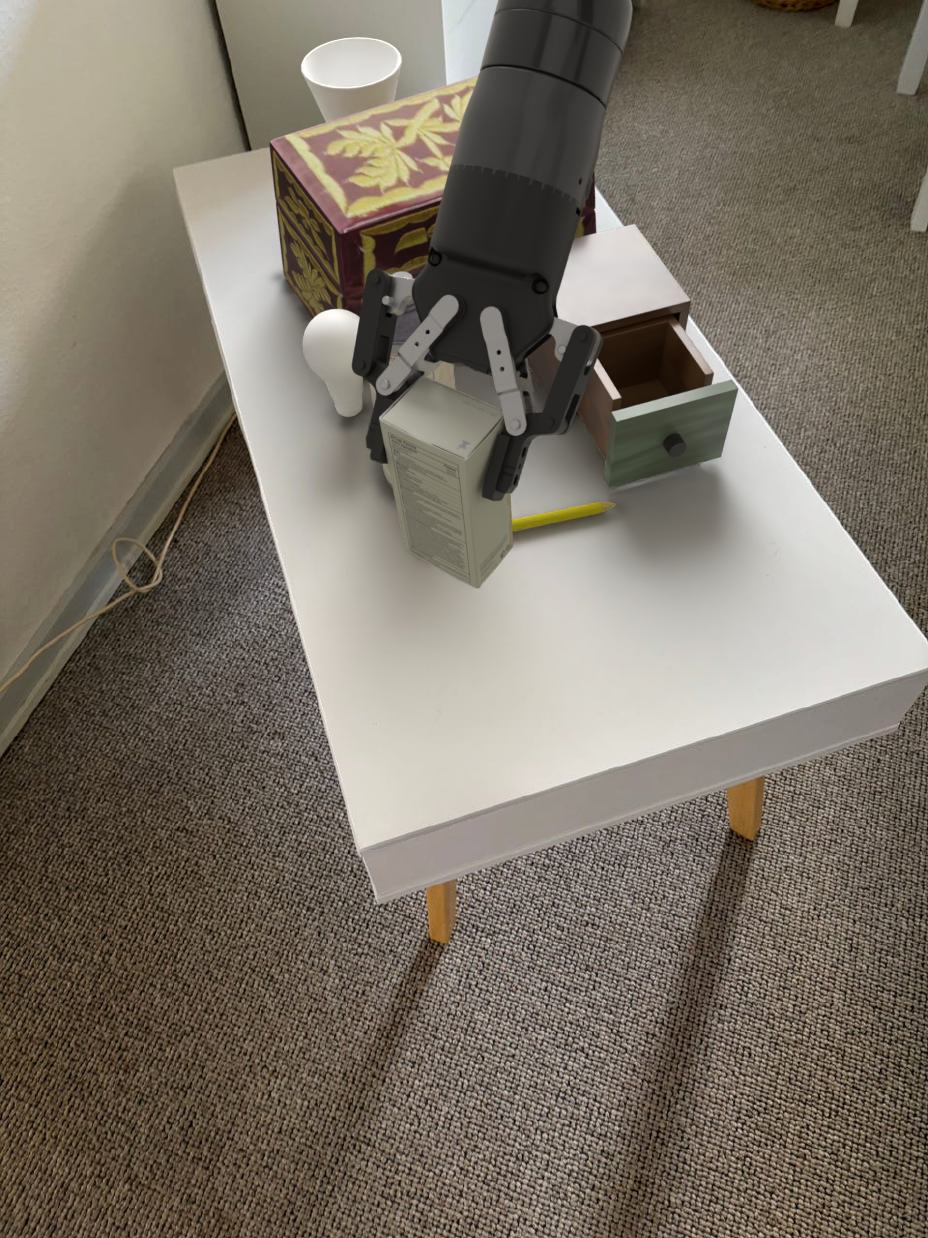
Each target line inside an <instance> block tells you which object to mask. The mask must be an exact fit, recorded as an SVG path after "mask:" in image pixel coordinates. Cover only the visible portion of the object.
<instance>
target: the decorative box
mask: <svg viewBox="0 0 928 1238" xmlns="http://www.w3.org/2000/svg"><path fill="white" fill-rule="evenodd" d="M477 78H478V75H475V76H472V77H469V78H466V79H461V80H459V81H456V82H452V83H449V84H446V85H442V86H440V87H436V88H433V89H429V90H427V91H423V92H420V93H417V94H414V95H411V96H407V97H404V98H401V99H398V100H394V102H391V103H388V104H384V105H381V106H378V107H375V108H371V109H368V110H365V111H362V112H358V113H355V114H352V115H349V116H346V117H342V118H339V119H336V120H333V121H329V122H326V121H325V122H324V123H320V124H316V125H314V126H310V127H307V128H304V129H301V130H298V131H294V132H291V133H287V134H285V135H282V136H278V137H276V138H273V139H270V140H269V145H268V146H269V153H270V163H271V173H272V182H273V191H274V192H273V193H274V198H275V209H276V218H277V228H278V229H277V230H278V237H279V247H280V255H281V263H282V272H283V276H284V278H285V279H286V281H287V282H288V283H289V285H290V288H292V290H293V292H295V294H296V295H297V298H298V299H299V300H300V302H301V303H302V305H303V306H304V308H305V309H306V311H307V312H308V314H309V315H310V316H311V318H312V319H313V318H314V317H315V316H317V315H318V314H320V313H321V312H324V311H327V310H331V309H343V310H347V311H350V312H352V313H354V314H356V315H357V316H358V317H360V313H361V307H362V301H363V295H364V289H365V284H366V278H367V275H368V273H369V272H370V271H371V270H372V269H380V270H383V271H385V272H387V273H389V274H391V275H392V274H394V273H396V272H407V273H410V274H411V275H412V278H413V279H416V277H417V276H418V275H419V274H420V273H421V271H422V270H423V269H424V267H425V265H426V263H427V260H428V256H429V248H430V242H431V238H432V234H433V230H434V226H435V223H436V219H437V215H438V211H439V207H440V203H441V200H442V196H443V192H444V188H445V184H446V180H447V176H448V172H449V168H450V165H451V161H452V157H453V153H454V149H455V145H456V141H457V138H458V134H459V130H460V126H461V122H462V119H463V116H464V113H465V110H466V107H467V105H468V102H469V100H470V97H471V95H472V92H473V90H474V87H475V85H476V82H477ZM595 178H596V172H595V171H594V173H593V176H592V179H593V182H592V186H591V190H590V193H589V196H588V199H586V201H585V203H584V207H583V210H582V214H581V217H580V221H579V224H578V227H577V230H576V234H575V237H574V238H578V237H582V236H587V235H591V234H595V233H597V215H596V214H597V213H596V179H595Z"/></svg>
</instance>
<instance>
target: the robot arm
mask: <svg viewBox="0 0 928 1238" xmlns="http://www.w3.org/2000/svg"><path fill="white" fill-rule="evenodd" d="M632 22H633V3H632V0H497V2H496V7H495V11H494V15H493V18H492V22H491V26H490V29H489V33H488V37H487V40H486V44H485V49H484V53H483V56H482V60H481V63H480V67H479V73H478V75H477V76H478V78H477V82H476V85H475V87H474V90H473V92H472V95H471V97H470V100H469V102H468V105H467V107H466V110H465V113H464V116H463V119H462V122H461V126H460V130H459V134H458V138H457V141H456V145H455V149H454V153H453V157H452V161H451V165H450V168H449V172H448V176H447V180H446V184H445V188H444V192H443V196H442V200H441V203H440V207H439V211H438V215H437V219H436V223H435V226H434V230H433V234H432V238H431V242H430V248H429V256H428V260H427V263H426V265H425V267H424V269H423V270H422V271H421V273H420V274H419V275H418V276H417V277H416V279H410V278H404V277H398V276H394V275H391V274H389V273H387V272H385V271H383V270H380V269H372V270H371V271H370V272H369V273H368V275H367V278H366V284H365V289H364V295H363V301H362V307H361V313H360V318H359V324H358V330H357V336H356V342H355V347H354V353H353V359H352V370H353V372H354V373H355V374H356V375H359V376H362V377H363V380H365V381H366V382H368V383H370V384H371V385H372V386H373V387H374V388H375V391H376V400H375V404H374V408H373V407H372V413H371V415H370V420H369V424H368V429H367V432H366V436H365V447H366V449H369V450H370V452H369V453H370V454H369V458H370V461H372V462H376V463H379V464H381V465H382V464H388V461H387V456H386V451H385V446H384V441H383V435H382V430H381V425H380V421H379V417H380V416H381V415H382V414H383V413H384V412H385V411H386V410H387V409H388V408H389V407H390V406H391V405H392V404H393V403H394V402H395V401H396V400H397V399H398V398H399V397H400V396H401V395H402V394H403V393H404V392H405V391H406V390H407V389H409V388H410V387H411V386H412V385H413V384H414V383H415V382H416V381H417V380H418V379H419V378H420V377H421V376H425V377H426V376H427V375H428V374H430V373H432V372H434V371H435V370H436V369H437V368H438V367H439V366H440V365H441V363H442V362H447V363H450V364H454V366H458V367H467V368H469V369H471V370H473V371H474V372H478V373H480V374H481V373H482V374H485V375H489V376H492V380H493V384H494V389H495V392H496V394H497V396H498V398H499V402H500V406H501V410H502V412H503V417H504V422H505V427H506V429H505V433H504V434H500V433H499V434H498V438H497V441H496V445H495V448H494V452H493V455H492V459H491V462H490V466H489V469H488V473H487V476H486V480H485V483H484V487H483V490H482V497H483V498H486V499H489V500H492V501H501V500H502V499H503V497H504V495H505V494H508V493H511V494H513V493H514V491H516V488H518V486H519V483H520V479H521V476H522V471H523V469H524V466H525V462H526V459H527V456H528V452H529V449H530V446H531V444H532V442H533V441H534V440H535V439H536V438H538V437H544V436H545V437H548V436H565V435H566V434H567V433H568V432H569V431H570V429H571V427H572V425H573V422H574V420H575V417H576V415H577V414H576V412H577V409H578V407H579V404H580V402H581V399H582V396H583V394H584V391H585V389H586V386H587V384H588V381H589V379H590V376H591V373H592V371H593V368H594V366H595V363H596V361H597V358H598V355H599V353H600V350H601V348H602V345H603V338H602V336H601V334H600V333H598V332H597V331H596V330H595V329H593V328H592V327H589V326H587V325H579V326H578V325H575V324H573V323H570V322H567V321H564V320H562V319H559V318H558V313H557V308H556V300H557V294H558V291H559V288H560V285H561V282H562V279H563V275H564V272H565V268H566V265H567V261H568V258H569V254H570V251H571V248H572V244H573V241H574V237H575V234H576V230H577V227H578V224H579V221H580V217H581V214H582V210H583V207H584V203H585V201H586V199H588V196H589V193H590V190H591V186H592V182H593V179H592V176H593V173H594V172H595V168H596V166H597V161H598V157H599V152H600V146H601V142H602V141H601V140H602V134H603V128H604V123H605V120H606V119H605V118H606V115H607V110H608V107H609V103H610V99H611V96H612V92H613V89H614V86H615V82H616V79H617V75H618V72H619V68H620V65H621V61H622V58H623V56H624V52H625V49H626V46H627V42H628V38H629V35H630V31H631V27H632V26H631V25H632ZM411 300H413V301H414V304H415V308H416V311H417V314H418V317H419V320H420V323H421V325H420V326H419V327H418V328H417V329H416V330H415V331H414V333H413V334H412V335H411V336H410V337H409V338H408V339H407V341H406V342H405V343H404V344H403V345H402V346H401V347H400V349H399V350H398V355H397V357H396V358H395V359H394V360H393V362H392V363H391V364H390V365H389V361H390V355H391V350H392V344H393V339H394V333H395V328H396V322H397V317H398V315H401V314H403V313H404V312H405V310H406V307H407V305H408V303H409V302H410V301H411ZM552 336H553V337H554V339H555V342H556V346H555V356H556V358H557V359H558V360H559V361H561V363H560V366H559V368H558V371H557V374H556V376H555V379H554V382H553V384H552V387H551V389H550V392H549V395H548V397H547V398H546V400H545V403H544V405H543V408H542V411H539V412H537V411H536V406H535V402H534V396H533V395H534V385H533V380H532V374H531V369H530V367H529V364H528V359H527V357H528V356H530V355H531V354H532V353H533V352H534V351H536V350H537V349H538V348H539V347H540V346H541V345H543V344H544V343H545V342H546V341H547V340H549V339H550V338H551V337H552ZM418 345H419V346H418ZM370 384H369V385H370Z"/></svg>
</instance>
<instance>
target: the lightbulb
mask: <svg viewBox="0 0 928 1238" xmlns="http://www.w3.org/2000/svg"><path fill="white" fill-rule="evenodd" d="M359 318H360V317H358V316H357V315H356V314H354V313H352V312H350V311H347V310H343V309H331V310H327V311H324V312H321V313H320V314H318V315H317V316H315V317H314V318H312V319H311V320H310V322H309V323H308V324H307V325H306V328H305V329H304V332H303V333H304V334H303V337H302V353H303V356H304V359H305V361H306V364H307V365H308V367H309V368H310V369H311V370H312V371H313V372H314V373H315V374H316V375H317V377H319V378H321V379H322V380H323V382H324V383H325V385H326V387H327V391H328V393H329V396H330V398H331V399H332V401H333V404H334V407H335V410H336V413H337V414H339V416H342V417H345V418H350V417H354V416H358V414H359V413H361V411H362V410H363V408H364V405H363V392H364V378H363V377H362V376H359V375H356V374H355V373H354V372H353V370H352V359H353V353H354V347H355V342H356V336H357V330H358V324H359Z"/></svg>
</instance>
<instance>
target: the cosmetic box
mask: <svg viewBox="0 0 928 1238" xmlns="http://www.w3.org/2000/svg"><path fill="white" fill-rule="evenodd" d="M379 421H380V425H381V430H382V435H383V441H384V446H385V451H386V456H387V461H388V466H389V472H390V476H391V482H392V487H393V490H392V491H393V496H394V501H395V502H394V503H395V506H396V512H397V517H398V522H399V526H400V533H401V536H402V542H403V546H404V550H405V552H407V553H408V554H411V555H412V556H414V557H416V558H417V559H419V560H421V561H422V562H424V563H426V564H428V565H429V566H432V567H433V568H436V569H438V570H439V571H441V572H443V573H445V574H446V575H449V576H450V577H453V578H455V579H456V580H458V581H460V582H462V583H464V584H465V585H468V586H469V587H472V588H473V589H474V588H475V589H480V588H481V587H482V586H483V584H484V583H485V582H486V581H487V580H488V578H490V576H491V575H492V574H493V573H494V571H495V570H496V569H497V568H498V567H499V566H500V564H501V563H502V561H504V559H505V558H506V557H507V555H508V554H509V553H510V551H512V549H513V547H514V536H513V532H512V520H513V513H512V493H508V494H505V495H504V497H503V499H502V500H501V501H492V500H489V499H486V498H483V497H482V490H483V487H484V483H485V480H486V476H487V473H488V469H489V466H490V462H491V459H492V455H493V452H494V448H495V445H496V441H497V438H498V434H499V433H500V434H504V433H505V429H506V427H505V422H504V417H503V412H502V408H501V409H500V408H499V407H497V406H494V405H493V404H490V403H489V402H486V401H484V400H482V399H479V398H477V397H475V396H472V395H470V394H468V393H465V392H463V391H460V389H456V388H455V389H454V388H451V387H449V386H447V385H444V384H442V383H439V382H437V381H435V380H432V379H430V378H427V377H425V376H421V377H420V378H419V379H418V380H417V381H416V382H415V383H414V384H413V385H412V386H411V387H410V388H409V389H407V390H406V391H405V392H404V393H403V394H402V395H401V396H400V397H399V398H398V399H397V400H396V401H395V402H394V403H393V404H392V405H391V406H390V407H389V408H388V409H387V410H386V411H385V412H384V413H383V414H382V415H381V416H380V417H379Z"/></svg>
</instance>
